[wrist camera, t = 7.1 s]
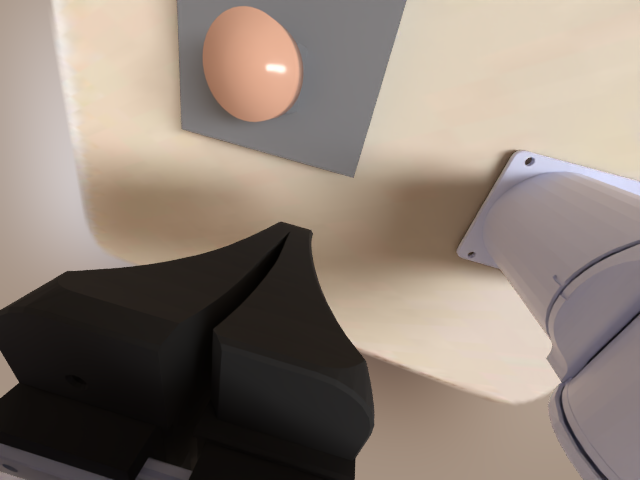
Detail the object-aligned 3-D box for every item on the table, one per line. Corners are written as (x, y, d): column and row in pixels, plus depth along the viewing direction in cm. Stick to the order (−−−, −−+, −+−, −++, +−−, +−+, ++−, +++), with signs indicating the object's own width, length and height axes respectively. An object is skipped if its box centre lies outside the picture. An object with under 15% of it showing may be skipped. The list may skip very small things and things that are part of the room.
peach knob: (326, 43, 16) (303, 20, 11) (310, 122, 18) (286, 132, 13) (255, 25, 16) (202, -6, 11) (249, 105, 18) (202, 109, 13)
